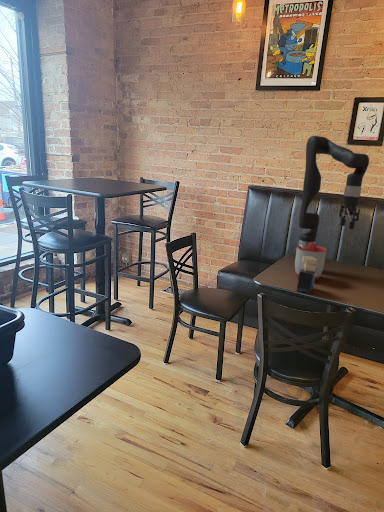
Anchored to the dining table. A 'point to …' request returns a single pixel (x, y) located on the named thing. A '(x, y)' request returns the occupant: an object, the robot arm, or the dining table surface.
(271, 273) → the dining table surface
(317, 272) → the citrus juicer
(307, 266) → the maple block
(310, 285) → the small box
